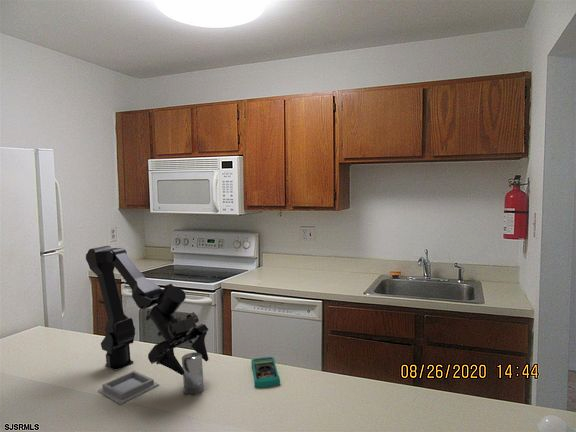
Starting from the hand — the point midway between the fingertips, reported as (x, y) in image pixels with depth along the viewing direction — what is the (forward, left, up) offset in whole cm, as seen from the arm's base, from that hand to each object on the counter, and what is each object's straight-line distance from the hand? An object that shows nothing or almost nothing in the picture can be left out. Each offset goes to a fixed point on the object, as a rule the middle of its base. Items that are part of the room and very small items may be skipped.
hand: (195, 367), depth 115 cm
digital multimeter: (-18, +9, -8) cm, 22 cm away
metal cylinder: (0, -1, -7) cm, 7 cm away
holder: (+10, -18, -7) cm, 22 cm away
